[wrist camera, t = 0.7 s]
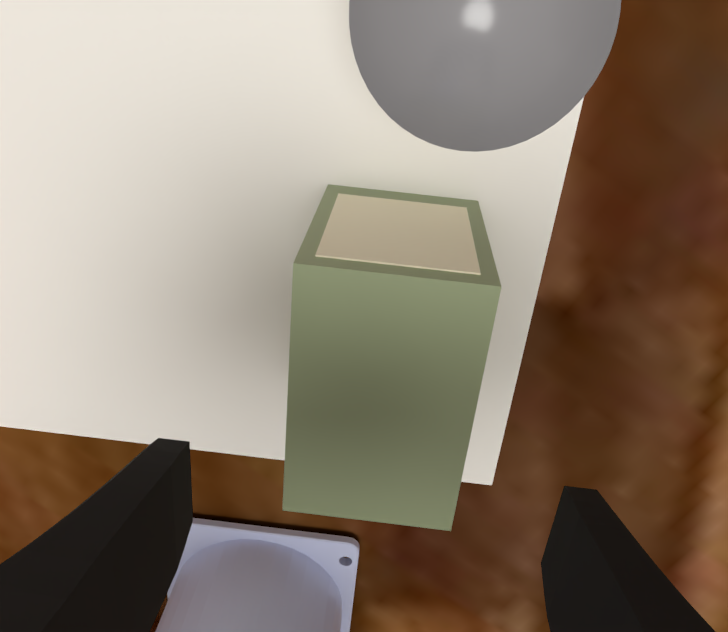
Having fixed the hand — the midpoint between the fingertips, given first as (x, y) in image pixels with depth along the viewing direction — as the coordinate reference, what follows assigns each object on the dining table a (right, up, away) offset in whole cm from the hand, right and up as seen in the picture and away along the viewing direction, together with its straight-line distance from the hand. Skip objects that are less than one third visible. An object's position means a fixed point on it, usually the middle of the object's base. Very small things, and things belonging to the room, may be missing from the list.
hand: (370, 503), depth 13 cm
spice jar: (+2, +11, +4) cm, 12 cm away
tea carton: (+1, +4, +8) cm, 9 cm away
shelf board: (-6, +7, +8) cm, 12 cm away
